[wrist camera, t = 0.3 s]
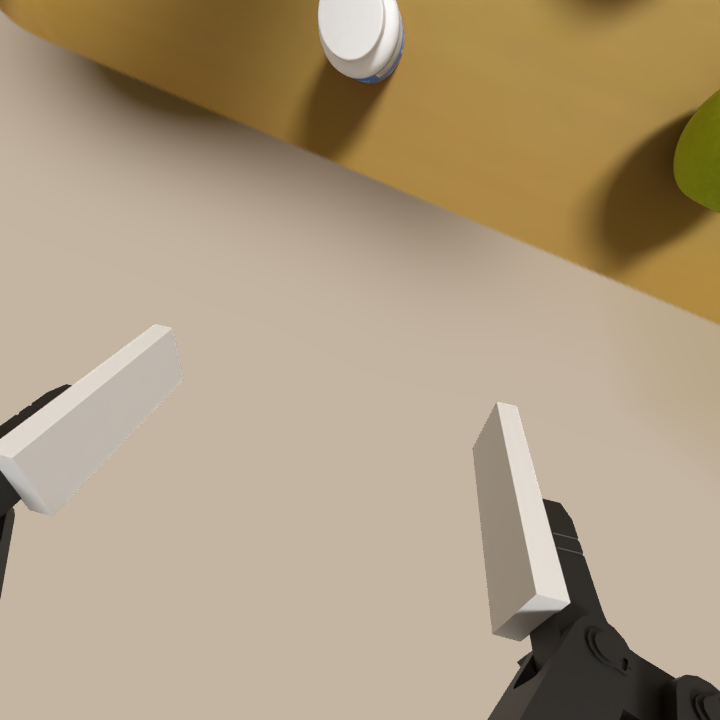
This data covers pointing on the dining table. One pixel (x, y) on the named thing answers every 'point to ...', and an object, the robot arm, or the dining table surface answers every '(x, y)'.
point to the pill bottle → (362, 37)
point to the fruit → (700, 156)
